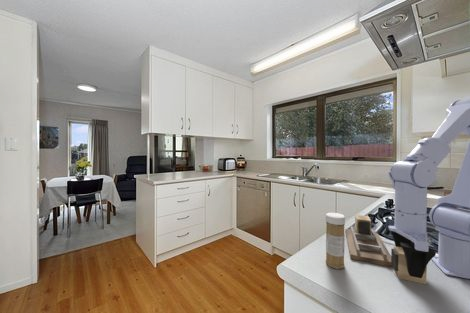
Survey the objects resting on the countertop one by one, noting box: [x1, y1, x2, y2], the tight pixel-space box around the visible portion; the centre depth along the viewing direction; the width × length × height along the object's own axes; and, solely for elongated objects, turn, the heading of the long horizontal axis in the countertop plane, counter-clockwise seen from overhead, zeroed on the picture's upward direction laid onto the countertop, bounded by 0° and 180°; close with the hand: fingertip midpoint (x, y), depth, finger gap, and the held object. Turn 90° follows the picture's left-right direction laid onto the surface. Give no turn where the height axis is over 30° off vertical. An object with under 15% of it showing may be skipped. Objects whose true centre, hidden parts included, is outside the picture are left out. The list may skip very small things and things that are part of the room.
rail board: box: [344, 214, 393, 268], centre depth 63 cm, size 10×20×7 cm, turn 155°
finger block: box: [390, 245, 428, 285], centre depth 48 cm, size 4×6×6 cm
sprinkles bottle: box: [325, 212, 346, 270], centre depth 53 cm, size 5×5×14 cm
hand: (409, 267), depth 48 cm, fingers open, 7 cm apart
